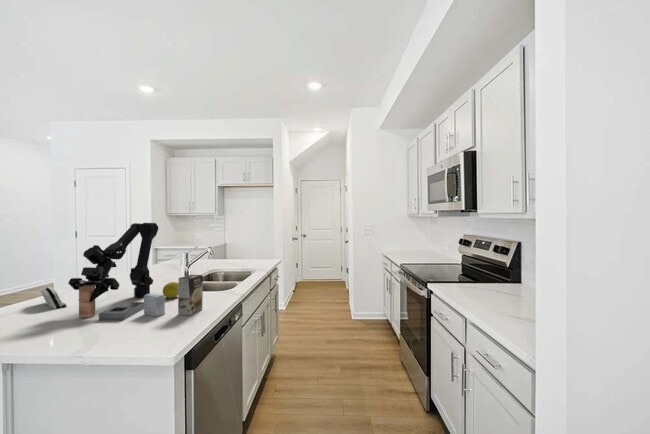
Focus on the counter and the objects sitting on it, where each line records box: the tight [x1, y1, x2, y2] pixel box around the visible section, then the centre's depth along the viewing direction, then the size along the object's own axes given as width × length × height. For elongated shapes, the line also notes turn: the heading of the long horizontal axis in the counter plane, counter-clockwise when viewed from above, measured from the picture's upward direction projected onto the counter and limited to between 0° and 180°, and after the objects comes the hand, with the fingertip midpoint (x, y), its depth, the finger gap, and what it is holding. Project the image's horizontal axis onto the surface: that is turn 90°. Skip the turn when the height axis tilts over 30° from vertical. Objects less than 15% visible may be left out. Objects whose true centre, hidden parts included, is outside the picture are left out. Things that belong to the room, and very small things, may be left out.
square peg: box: [78, 285, 96, 318], centre depth 134 cm, size 4×4×12 cm
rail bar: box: [98, 301, 144, 321], centre depth 138 cm, size 16×10×3 cm, turn 3°
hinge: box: [40, 286, 68, 310], centre depth 150 cm, size 17×5×10 cm, turn 50°
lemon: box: [162, 281, 179, 299], centre depth 166 cm, size 11×8×8 cm
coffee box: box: [177, 274, 204, 316], centre depth 142 cm, size 9×6×16 cm
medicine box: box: [143, 292, 166, 318], centre depth 138 cm, size 8×4×9 cm, turn 65°
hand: (84, 301), depth 133 cm, fingers closed on square peg, 4 cm apart
